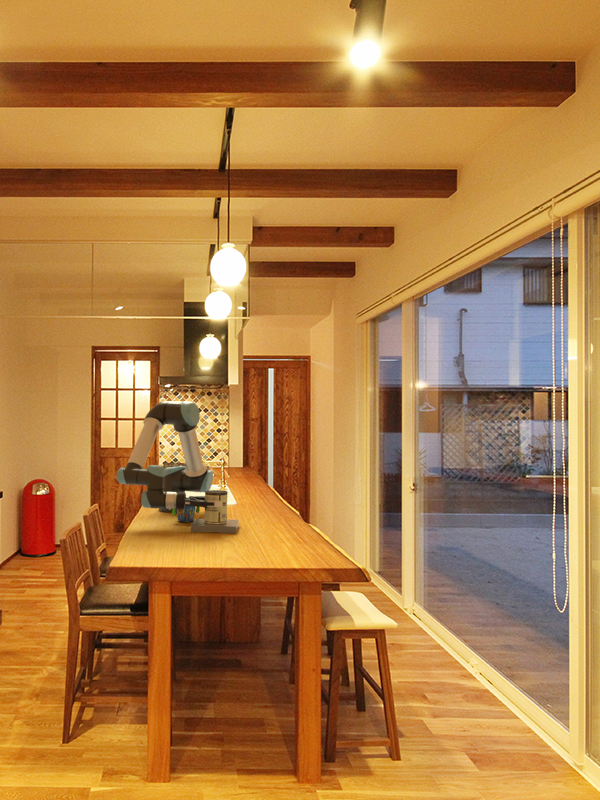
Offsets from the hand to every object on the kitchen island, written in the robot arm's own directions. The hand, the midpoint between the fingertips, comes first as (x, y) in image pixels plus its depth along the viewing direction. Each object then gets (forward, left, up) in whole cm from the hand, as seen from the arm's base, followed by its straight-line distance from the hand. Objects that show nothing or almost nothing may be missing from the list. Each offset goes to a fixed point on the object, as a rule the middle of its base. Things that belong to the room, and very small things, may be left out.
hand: (223, 501), depth 303 cm
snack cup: (-19, -19, -13) cm, 30 cm away
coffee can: (0, -3, -10) cm, 10 cm away
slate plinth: (0, -3, -12) cm, 13 cm away
